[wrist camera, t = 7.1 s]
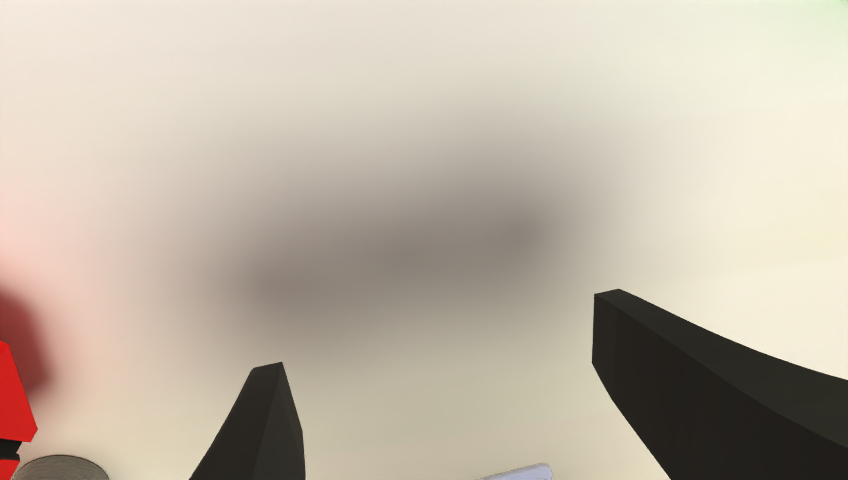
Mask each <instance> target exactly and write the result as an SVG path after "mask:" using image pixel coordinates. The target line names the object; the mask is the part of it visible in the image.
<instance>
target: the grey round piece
mask: <svg viewBox="0 0 848 480" xmlns="http://www.w3.org/2000/svg"><path fill="white" fill-rule="evenodd" d="M13 480H109V479H108V477H107V475H106V474H105V473H104V472H103V470H102V469H100V468H99V467H98V466H96V465H95V464H93V463H91V462H89V461H87V460H84V459H81V458H77V457H71V456H49V457H44V458H40V459H37V460H34V461H32V462H30V463H28V464H26V465H25V466H23V467H22V468H21V469H20V470H19V471H18V472H17V473H16V475H15V477H14V479H13Z"/></svg>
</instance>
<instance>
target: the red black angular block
mask: <svg viewBox="0 0 848 480" xmlns="http://www.w3.org/2000/svg"><path fill="white" fill-rule="evenodd" d="M37 430H38V429H37V426H36V423H35V420H34V417H33V414H32V411H31V408H30V406H29V403H28V400H27V397H26V394H25V391H24V388H23V385H22V382H21V379H20V377H19V374H18V371H17V368H16V365H15V362H14V359H13V356H12V353H11V351H10V348H9V345H8V344H6V343H4V342H2V341H0V480H10V479H11V477H12V475H13V473H14V471H15V470H16V468H17V466H18V464H19V462H20V457H19V454H16V452H17V450H18V449H19V447H20V445H21V443H22V442H23V441H24V442H31V440H32V439H33V437H34V435H35V433H36V431H37Z"/></svg>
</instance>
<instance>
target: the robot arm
mask: <svg viewBox="0 0 848 480" xmlns="http://www.w3.org/2000/svg"><path fill="white" fill-rule="evenodd" d="M592 364H593V366H594V368H595V370H596V372H597V374H598V376H599V378H600V379H601V381H602V383H603V385H604V387H605V388H606V390H607V392H608V394H609V395H610V397H611V399H612V401H613V402H614V403H615V405H616V406H617V408H618V409H619V410H620V412H621V413H622V414H623V416H624V417H625V419H626V420H627V421H628V423H629V424H630V425H631V427H632V428H633V429H634V431H635V432H636V433H637V435H638V436H639V437H640V439H641V440H642V441H643V443H644V444H645V445H646V447H647V448H648V450H649V451H650V452H651V454H652V455H653V456H654V458H655V459H656V460H657V462H658V463H659V464H660V466H661V467H662V468H663V470H664V471H665V472H666V474H667V475H668V476H669V478H670V479H671V480H848V380H845V379H842V378H838V377H834V376H831V375H827V374H824V373H821V372H817V371H814V370H811V369H807V368H804V367H801V366H799V365H796V364H793V363H790V362H787V361H784V360H781V359H778V358H775V357H772V356H769V355H767V354H764V353H761V352H759V351H756V350H754V349H751V348H749V347H746V346H744V345H741V344H739V343H736V342H734V341H732V340H729V339H727V338H724V337H722V336H720V335H718V334H715V333H713V332H711V331H708V330H706V329H704V328H702V327H700V326H698V325H695V324H693V323H691V322H689V321H687V320H685V319H683V318H681V317H678V316H676V315H674V314H672V313H670V312H668V311H666V310H664V309H662V308H660V307H658V306H656V305H654V304H652V303H649V302H647V301H645V300H643V299H641V298H639V297H637V296H635V295H632V294H630V293H628V292H626V291H623V290H621V289H615V290H611V291H606V292H602V293H597V294H594V319H593V347H592ZM541 479H545V480H552V471H551V468H550V466H549V465H548V464H545V463H539V464H535V465H531V466H527V467H524V468H520V469H516V470H512V471H508V472H504V473H500V474H496V475H492V476H488V477H485V478H481V479H477V480H541ZM189 480H305V459H304V445H303V432H302V428H301V424H300V421H299V418H298V414H297V411H296V407H295V404H294V400H293V397H292V394H291V390H290V387H289V383H288V380H287V376H286V373H285V370H284V366H283V363H282V362H279V363H274V364H269V365H265V366H260V367H256V368H253V370H252V371H251V372H250V374H249V376H248V378H247V380H246V382H245V384H244V386H243V388H242V390H241V392H240V394H239V396H238V398H237V400H236V402H235V403H234V405H233V407H232V409H231V411H230V413H229V415H228V417H227V418H226V420H225V422H224V424H223V425H222V427H221V429H220V431H219V432H218V434H217V436H216V438H215V439H214V441H213V443H212V444H211V446H210V448H209V449H208V451H207V453H206V454H205V456H204V457H203V459H202V460H201V462H200V463H199V465H198V467H197V468H196V470H195V471H194V473H193V474H192V476H191V477H190V479H189Z"/></svg>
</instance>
